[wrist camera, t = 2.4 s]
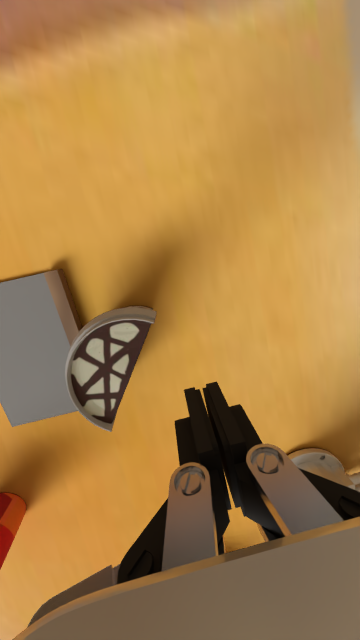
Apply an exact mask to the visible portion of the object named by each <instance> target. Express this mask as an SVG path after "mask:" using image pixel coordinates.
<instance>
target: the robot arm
mask: <svg viewBox="0 0 360 640" xmlns="http://www.w3.org/2000/svg"><path fill="white" fill-rule="evenodd" d="M184 392H185V397H186V402H187V406H188V411H189V416H190V417H187V418H184V419H180V420H176V421H175V429H176V437H177V446H178V454H179V462H180V467H178V468H177V469H176V470H175V471H174V473H173V474H172V476H171V479H170V485H169V496H168V499H167V500H166V501H165V503H164V504H163V505H162V507H161V508H160V509H159V511H158V512H157V513H156V515H155V516H154V517H153V519H152V520H151V521H150V523H149V524H148V525H147V527H146V528H145V529H144V531H143V532H142V533H141V535H140V536H139V537H138V539H137V540H136V541H135V543H134V544H133V545H132V547H131V548H130V549H129V551H128V552H127V553H126V555H125V557H124V558H123V560H122V562H121V564H119V565H117V566H116V567H114V568H113V567H112V565H110V566H108V567H106V568H104V569H102V570H101V571H99V572H97V573H95V574H94V575H92V576H90V577H88V578H86V579H85V580H83V581H81V582H79V583H77V584H76V585H74V586H72V587H70V588H69V589H67V590H65V591H63V592H61V593H60V594H58V595H56V596H54V597H52V598H51V599H49V600H48V601H47V602H46V603H44V604H43V605H42V606H41V607H40V608H39V610H38V611H37V612H36V613H35V614H34V616H33V618H32V619H31V621H30V623H29V625H28V627H27V628H26V629H25V630H24V631H22V632H21V633H20V634H19V635H17V636H16V637H15V638H14V639H13V640H360V472H358V473H354V474H353V475H349V474H345V471H344V467H343V466H342V464H341V462H340V461H339V460H338V459H337V458H336V457H335V456H334V455H333V454H332V453H330V452H328V451H326V450H322V449H316V448H309V449H302V450H299V451H296V452H293V453H291V454H289V455H288V456H287V455H286V454H285V452H283V451H282V450H281V449H280V448H278V447H276V446H274V445H271V444H263V443H262V442H261V440H260V438H259V436H258V434H257V433H256V431H255V429H254V427H253V426H252V424H251V422H250V420H249V419H248V417H247V415H246V413H245V411H244V410H243V408H242V406H241V405H240V404H239V405H235V406H231V407H229V406H228V404H227V402H226V400H225V398H224V396H223V394H222V391H221V389H220V387H219V385H218V383H217V382H213V383H209V384H206V388H203V393H204V397H205V402H206V407H207V411H208V414H207V411H206V408H205V405H204V402H203V398H202V395H201V392H200V389H197V390H195V387H193V388H189V389H185V390H184ZM208 416H209V417H208ZM224 473H225V475H224ZM225 476H226V479H227V482H228V485H229V488H230V492H231V495H232V498H233V501H234V504H235V507H236V508H237V507H241V509H242V512H243V515H244V517H245V516H247V517H248V518H250V519H251V520H253V521H255V522H256V523H257V525H258V528H259V531H260V533H261V534H262V536H263V538H264V540H265V543H261V544H257V545H254V546H250V547H247V548H243V549H239V550H236V551H232V552H229V553H226V549H225V540H224V536H223V534H224V532H225V530H226V528H227V526H228V524H229V522H230V520H229V515H228V511H227V510H230V509H232V508H231V504H230V499H229V494H228V489H227V485H226V480H225Z"/></svg>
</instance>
